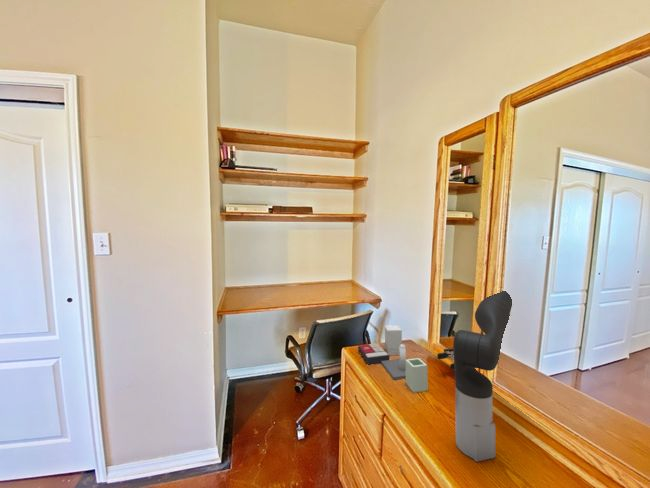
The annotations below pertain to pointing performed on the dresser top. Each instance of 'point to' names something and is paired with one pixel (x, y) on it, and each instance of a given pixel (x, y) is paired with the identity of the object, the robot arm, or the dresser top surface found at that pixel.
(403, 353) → the post stand
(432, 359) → the dresser top surface
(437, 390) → the dresser top surface
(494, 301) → the robot arm
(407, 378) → the sleeve
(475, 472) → the dresser top surface
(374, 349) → the dark gray paneled box
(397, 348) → the supplement box
